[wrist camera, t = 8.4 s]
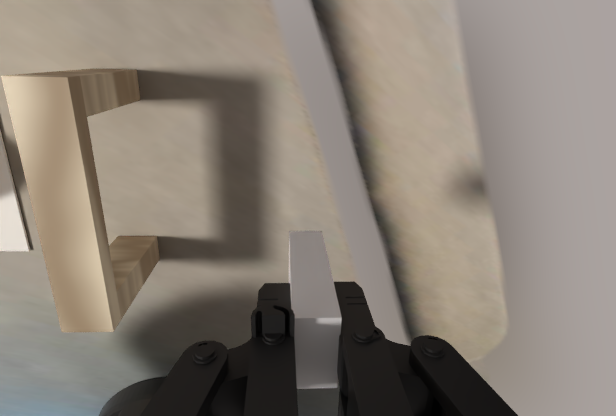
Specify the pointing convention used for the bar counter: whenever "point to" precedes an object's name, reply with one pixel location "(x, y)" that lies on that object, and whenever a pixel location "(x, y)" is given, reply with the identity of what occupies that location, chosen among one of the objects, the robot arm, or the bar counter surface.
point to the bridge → (76, 193)
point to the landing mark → (10, 209)
